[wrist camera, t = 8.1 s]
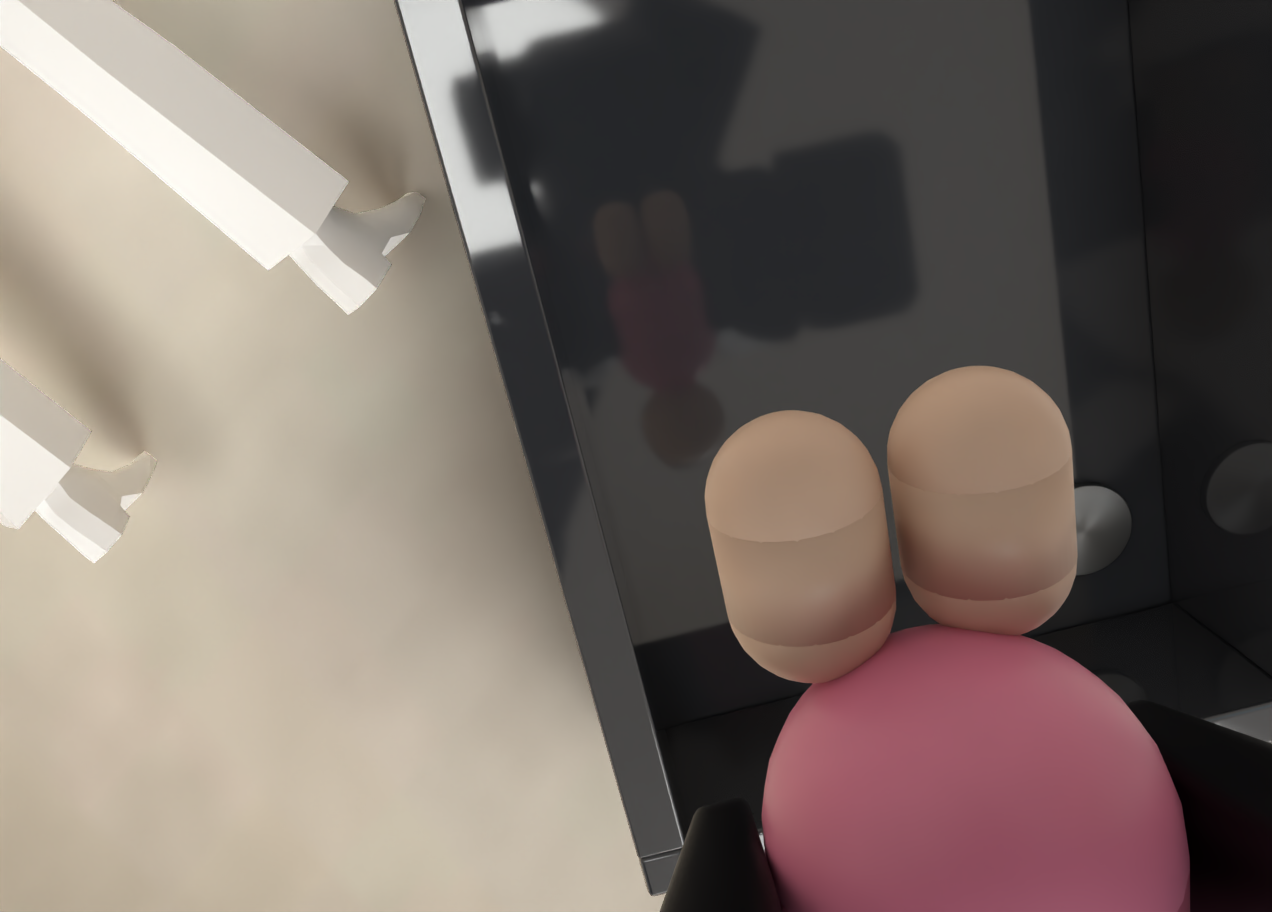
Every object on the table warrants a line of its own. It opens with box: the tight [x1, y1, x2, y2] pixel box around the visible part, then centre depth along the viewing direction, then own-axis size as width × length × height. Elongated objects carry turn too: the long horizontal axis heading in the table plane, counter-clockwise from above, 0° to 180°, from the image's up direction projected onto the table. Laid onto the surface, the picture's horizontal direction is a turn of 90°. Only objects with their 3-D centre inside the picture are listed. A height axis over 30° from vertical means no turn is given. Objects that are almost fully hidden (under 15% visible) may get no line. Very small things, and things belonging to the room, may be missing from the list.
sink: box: [394, 0, 1272, 896], centre depth 16 cm, size 15×12×4 cm
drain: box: [1074, 482, 1132, 576], centre depth 19 cm, size 2×2×1 cm
